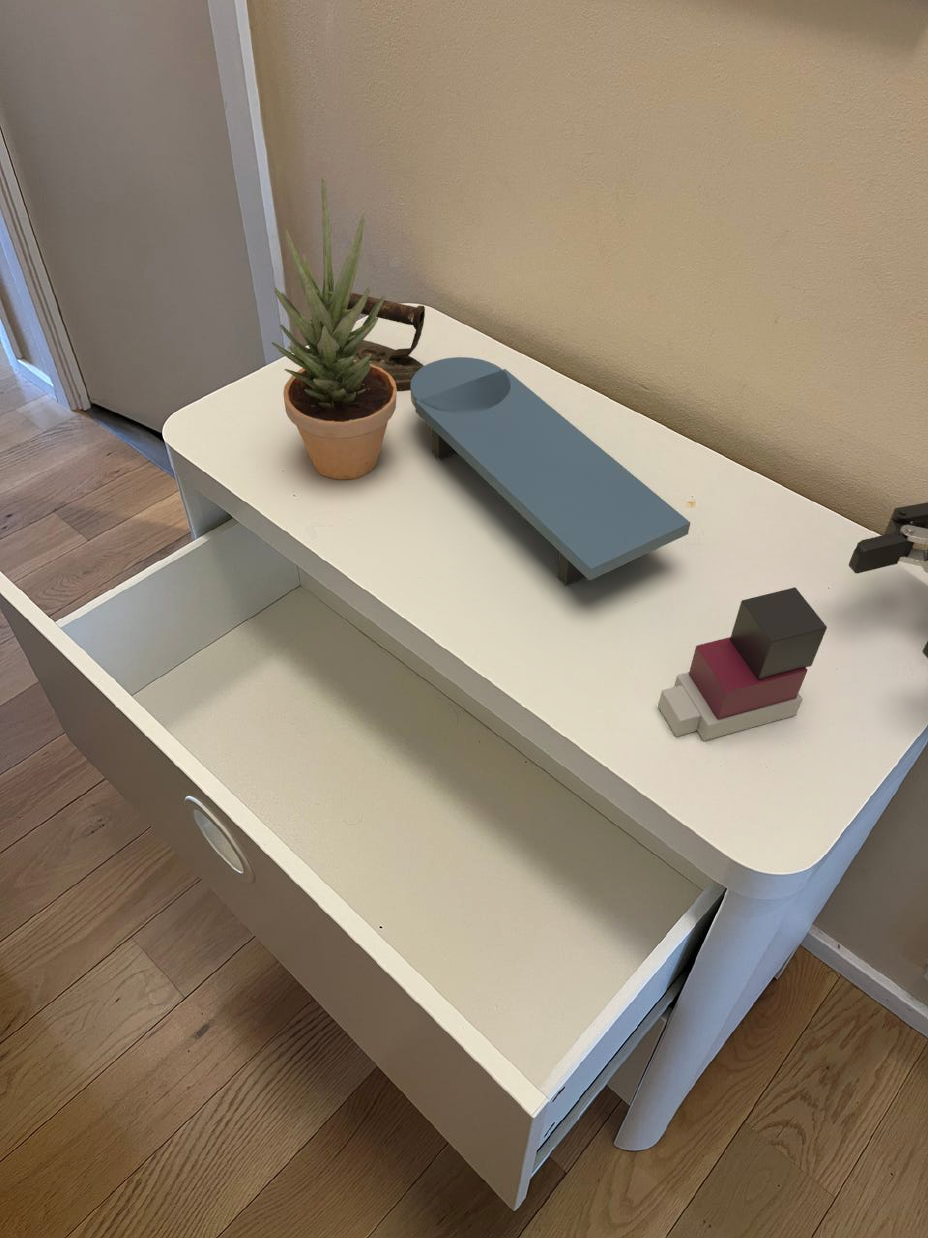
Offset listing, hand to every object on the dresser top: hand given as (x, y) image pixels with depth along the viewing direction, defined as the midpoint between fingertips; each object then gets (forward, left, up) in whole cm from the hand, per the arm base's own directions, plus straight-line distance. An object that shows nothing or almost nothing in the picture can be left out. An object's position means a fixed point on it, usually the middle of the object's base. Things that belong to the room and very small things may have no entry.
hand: (890, 602), depth 65 cm
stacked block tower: (+7, +8, -7) cm, 13 cm away
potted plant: (+46, 0, -7) cm, 47 cm away
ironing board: (+30, -5, -7) cm, 32 cm away
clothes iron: (+51, -13, -7) cm, 53 cm away
